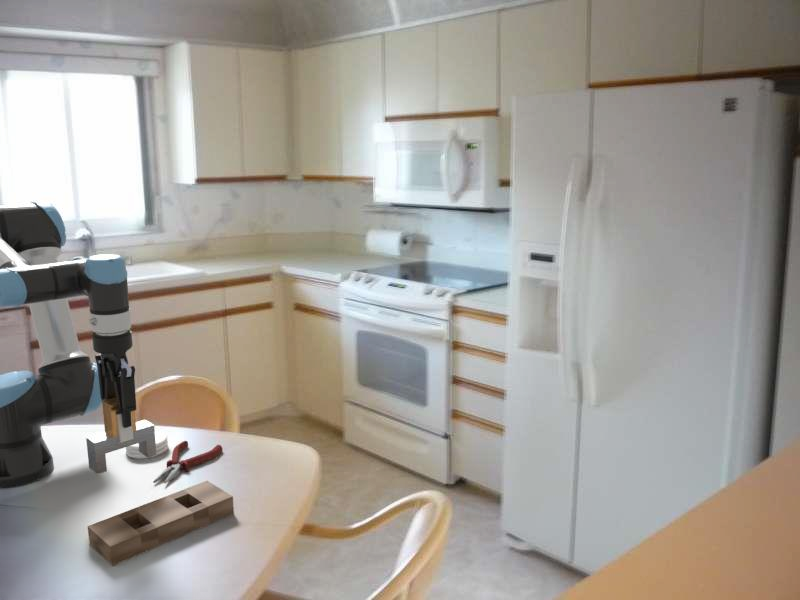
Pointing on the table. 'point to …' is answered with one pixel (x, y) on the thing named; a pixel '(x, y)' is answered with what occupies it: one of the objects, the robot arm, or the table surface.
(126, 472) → the table surface
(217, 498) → the slotted wooden block
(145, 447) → the clip
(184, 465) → the pliers
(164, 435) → the white round stack
